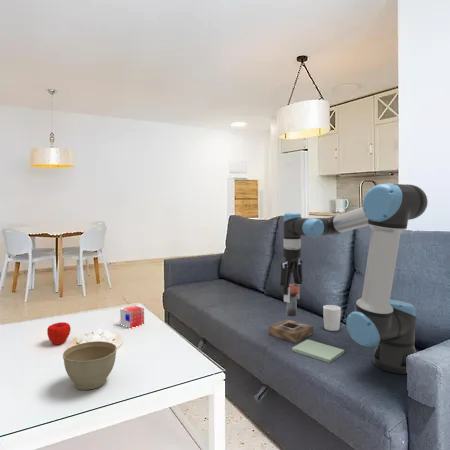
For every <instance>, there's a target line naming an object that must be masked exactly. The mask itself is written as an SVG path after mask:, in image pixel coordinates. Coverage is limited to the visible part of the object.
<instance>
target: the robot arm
mask: <svg viewBox="0 0 450 450" xmlns="http://www.w3.org/2000/svg"><path fill="white" fill-rule="evenodd" d="M428 201H429V200H428V197H427V194H426V192H425V191H424V190H423V189H422V188H421V187H419V186H417V185H414V184H408V183H407V184H405V183H404V184H401V183H400V184H399V183H387V182H386V183H380V184H376V185H374V186H373V187H371V189H368V191H367V192H366V194H365V195H364V198H363V201H362V207H361V206H360V207H358V208H356V209H353V210H349V211H346V212H342V213H339V214H336V215H333V216H330V217H311V218H310V217H309V218H308V217H307V218H306V217H302V214H301V213H300V212H286V213H284V214H283V222H282V224H283V227H282V228H283V251H282V252H283V258H284V260H285V261H284V262H282V263H281V264H280V267H281V268H280V269H281V271H280V272H281V273H280V287H282V288H283V302H284V303H287V302H288V303H290V287H289V284H291V283H290V282H291V278H292V277H293V281H294V284H296V285H299V286H301V285H302V284H303V279H304V277H303V260H301V259H299V258H301V256H302V252H301V251H302V250H301V248H302V237H308V238H319V237H321V236H322V237H323V236H337V235H341V234H343V233H345V232H349V231H353V230H356V229H360V228H364V227H370V229H371V232H370V240H369V246H368V254H367V260H366V267H365V274H364V280H363V281H364V282H363V287H362V293H361V298H358V299H357V300H356V303H355V308H354V309H355V310H354V311H352V312H350V313H349V314H348V315H347V317H346V323H345V325H346V329H347V332H348V334H349V335H350V337H351V339H352V340H353V341H354V342H355V343H356V344H358V345H360V346H362V347H366V348H367V347H375V349H374V352H373V354H372V362H373V364H374V365H375V366H376V367H377V368H379V369H380V370H383V371H385V372H389V373H393V374H397V375H398V374H399V375H407V374H406V357H407V356H408V355H410V354H413V353H417V351H416V347H415V341H416V339H415V338H416V337H415V336H416V320H417V319H416V317H417V315H416V307H415V306H414V305H413V304H411V303H409V302H405V301H402V300H396V299H391V294H392V289H393V282H394V276H395V270H396V265H397V264H396V263H397V258H398V251H399V244H400V240H401V239H400V238H401V234H402V232H404V231H406V230H407V229H408V224H409V223H408V222H409V220H410V221H411V220H414V219H417V218H419V217H420V216H422V215H423V214H424V213H425V212H426V209H427V207H428ZM297 300H300V293H299V294H297Z"/></svg>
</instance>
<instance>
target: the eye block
mask: <svg viewBox="0 0 450 450" xmlns="http://www.w3.org/2000/svg"><path fill="white" fill-rule="evenodd" d="M313 334H314V325H310V324H308V323H307V324H305V323H303V322H299V321H294V320H291V319H287V318H285V319H283V320H280V321H279V322H277V323H273V324H272V325H269V326H268V335H269V336H272V337H277V338H279V339H283V340H286V341H289V342H292V343H294V344H295V343H296V344H297V343H299V342H300V341H302V340H304V339H306V338H308V337H310V336H311V335H313Z"/></svg>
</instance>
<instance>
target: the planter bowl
mask: <svg viewBox="0 0 450 450" xmlns="http://www.w3.org/2000/svg"><path fill="white" fill-rule="evenodd" d="M117 350H118V349H117V346H116V344H114V343H113V342H109V341H102V340H101V341H99V340H98V341H97V340H96V341H87V342H82V343H78V344H75V345H72V346H69V348H67V349H65V350H64V351H63V353H62V358H63V364H64V369H65V372H66V374H67V376H68V377H69V379H70V380H71V382H73V383H74V387H75V389H78V390H83V391H87V390H94V389H97V388H99V387H102V386H103V385H105V383H106V382H107V379H108V377H109V375H110V374H111V372H112V371H113V368H114V365H115V362H116V358H117V355H116V354H117Z"/></svg>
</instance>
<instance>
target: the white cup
mask: <svg viewBox="0 0 450 450" xmlns="http://www.w3.org/2000/svg"><path fill="white" fill-rule="evenodd" d="M322 307H323V310H322V311H323V312H322V313H323V328H324V329H325V330H326V331H330V332H337V331H339V330H340V325H341V324H340V323H341V315H342V313H341V312H342V308H341V307H340V306H338V305H334V304H326V305H323V306H322Z"/></svg>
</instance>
